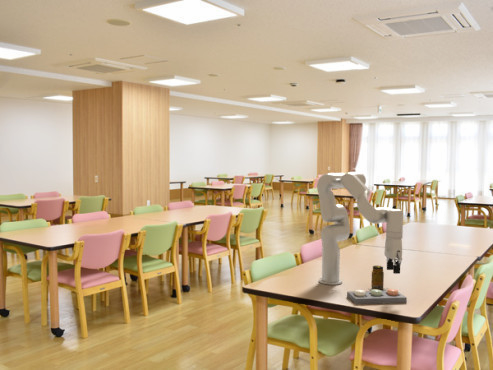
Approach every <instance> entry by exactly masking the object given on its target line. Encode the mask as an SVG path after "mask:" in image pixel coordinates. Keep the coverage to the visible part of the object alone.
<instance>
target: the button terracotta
mask: <svg viewBox="0 0 493 370" xmlns="http://www.w3.org/2000/svg"><path fill="white" fill-rule="evenodd" d="M387 289H388V290H387V294H388V295H389V296H398V292H399V290H398V289H395V288H387Z"/></svg>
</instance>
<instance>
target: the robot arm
mask: <svg viewBox="0 0 493 370" xmlns="http://www.w3.org/2000/svg"><path fill="white" fill-rule="evenodd" d="M366 181H367V179H366V176H365V174H363V173H362V172H359V171H358V172H357V171H349V172H336V173H335V172H328V173H324V174H322V175H320V177H318V180H317V182H316V183H317V184H316V190H317V194H318V197H319V207H320V215H321V219H322V221H323V222H325V223H334V224H328V225H325V226H323V228H322V229H321V231H320V238H321V249H322V250H321V254H322V255H321V257H322V258H321V259H322V260H321V277H319V278H318V282H319V283H321V284H324V285H329V286H331V285H332V286H337V285H341V284H342V283H343V280H342V279H341V278H340V272H341V271H340V269H341V267H340V265H341V263H340V261H341V250H340V249H341V248H340V246H339V242H343V241H346V240H348V238H349V237H350V234H351V233H350V231H351V229H350V223H349V214H348V210H347V209H346V207H345V206H344V205H342V204H338V203H336V202H337V201H336V197H335V194H334V192H333V190H332V189H345V190H347V192H348V193H349V194H350V195H351V196H352V197H353V198H354V200H355V201H356V207H357V209H358V211H359V213H360V214H361V216H362V217H364V219H365V220H366V221H368V222H369V223H370V224H383V223H386V228H385V242H384V256H385V257H386V270H387V271H392V272H393V274H395V275H396V274H397V275H398V274H400V273H401V263H402V261H403V231H404V230H403V225H404V211H403V210H402V209H398V208H397V209H396V208H389V207H387V206H386V207H384V206H383V207H374V206H373V204H371V203H370V201H369V200H368V198H369V196H370V194H371V191H370V189H369V188H368V187H367V186H366Z"/></svg>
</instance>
